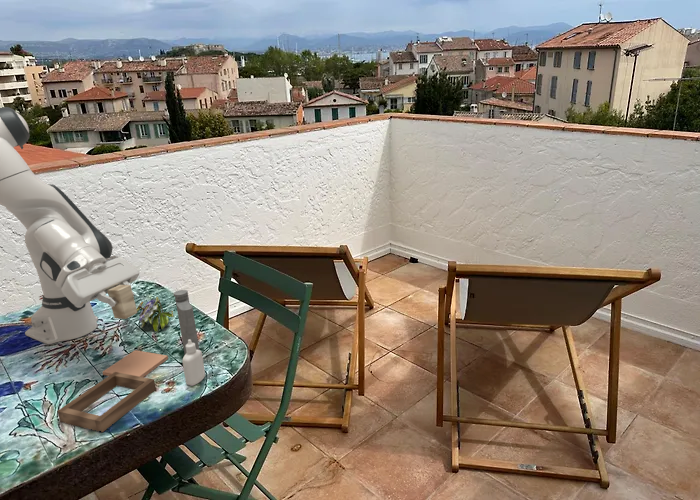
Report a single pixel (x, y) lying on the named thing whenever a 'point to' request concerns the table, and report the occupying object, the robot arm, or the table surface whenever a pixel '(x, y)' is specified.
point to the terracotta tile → (137, 364)
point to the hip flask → (186, 318)
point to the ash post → (123, 301)
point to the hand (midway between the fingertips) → (123, 300)
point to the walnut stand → (101, 423)
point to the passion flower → (149, 312)
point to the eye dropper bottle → (193, 364)
